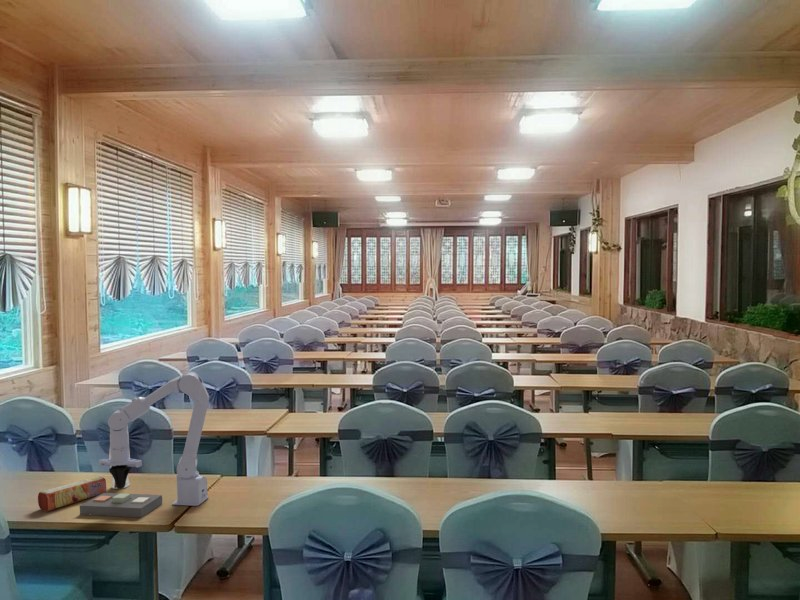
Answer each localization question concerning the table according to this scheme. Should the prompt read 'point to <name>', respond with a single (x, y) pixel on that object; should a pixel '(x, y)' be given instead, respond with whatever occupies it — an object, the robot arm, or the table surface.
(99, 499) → the terracotta button
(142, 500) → the off-white button
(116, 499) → the sage button
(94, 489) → the snack package
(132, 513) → the button panel
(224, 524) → the table surface
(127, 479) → the beer glass
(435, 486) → the table surface
